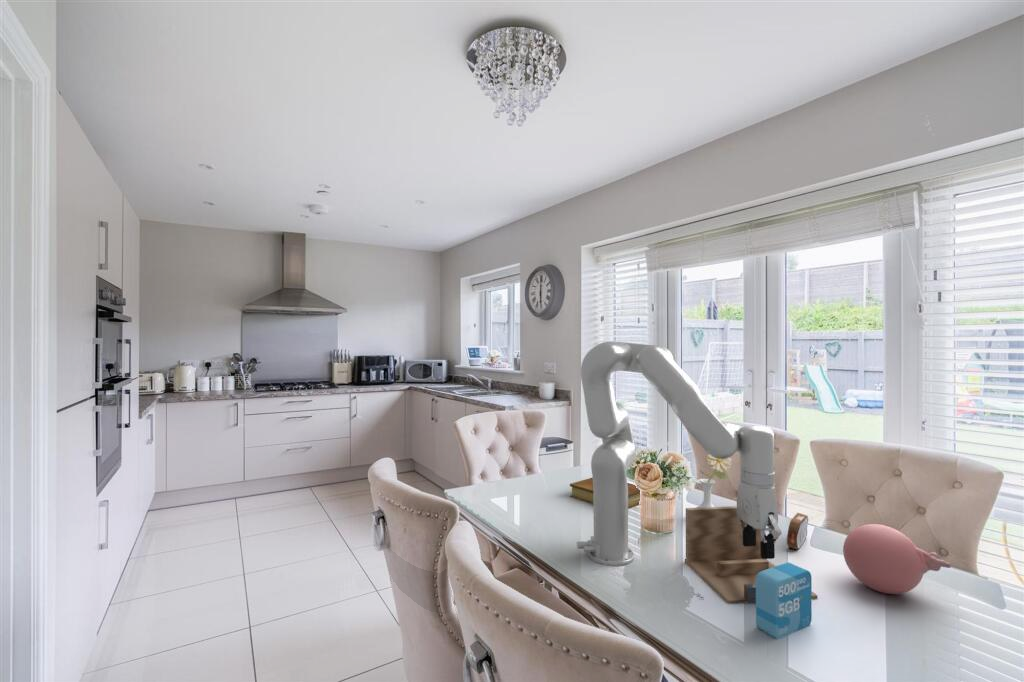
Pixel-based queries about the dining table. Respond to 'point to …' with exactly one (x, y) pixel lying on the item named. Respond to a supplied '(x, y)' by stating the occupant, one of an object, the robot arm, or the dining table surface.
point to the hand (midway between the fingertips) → (758, 551)
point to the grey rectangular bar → (750, 592)
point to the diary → (585, 492)
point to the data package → (783, 599)
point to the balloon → (887, 559)
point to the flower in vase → (707, 484)
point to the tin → (797, 531)
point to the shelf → (723, 551)
